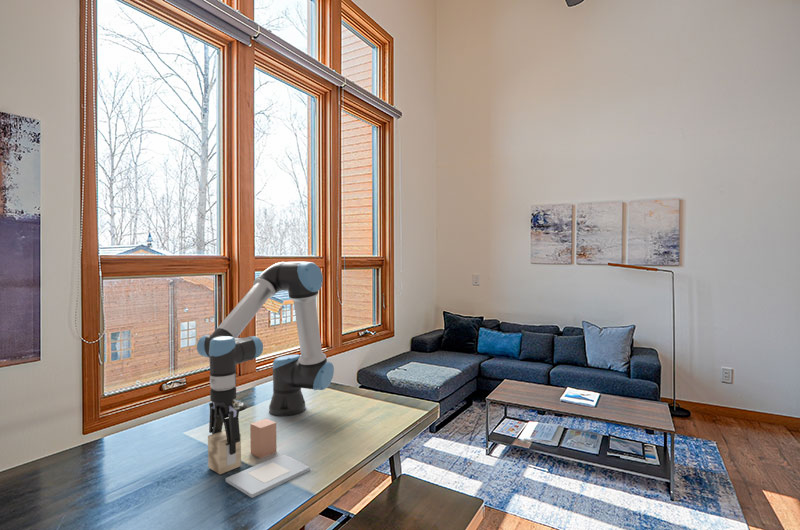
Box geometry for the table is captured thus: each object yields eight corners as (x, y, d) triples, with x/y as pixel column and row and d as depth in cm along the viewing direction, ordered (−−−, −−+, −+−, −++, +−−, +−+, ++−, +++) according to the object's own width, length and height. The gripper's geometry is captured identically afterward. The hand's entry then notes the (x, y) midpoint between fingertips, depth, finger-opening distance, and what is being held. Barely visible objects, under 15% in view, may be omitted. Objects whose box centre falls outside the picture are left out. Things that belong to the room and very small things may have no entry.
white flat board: (225, 481, 129) (225, 477, 129) (282, 457, 144) (282, 453, 144) (252, 498, 120) (252, 494, 120) (310, 470, 135) (310, 466, 135)
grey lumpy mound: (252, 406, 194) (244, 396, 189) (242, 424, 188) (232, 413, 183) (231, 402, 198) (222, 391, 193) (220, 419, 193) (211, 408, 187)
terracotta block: (250, 453, 147) (250, 423, 147) (266, 447, 152) (265, 418, 152) (260, 458, 144) (260, 428, 143) (276, 451, 148) (276, 422, 148)
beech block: (208, 467, 137) (207, 435, 136) (229, 459, 142) (228, 428, 142) (219, 474, 132) (219, 441, 132) (241, 465, 138) (240, 434, 137)
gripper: (196, 384, 140) (197, 455, 141) (228, 396, 127) (230, 474, 128) (218, 378, 146) (219, 447, 146) (251, 390, 133) (253, 465, 134)
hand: (224, 459), depth 137 cm, fingers closed on beech block, 7 cm apart
